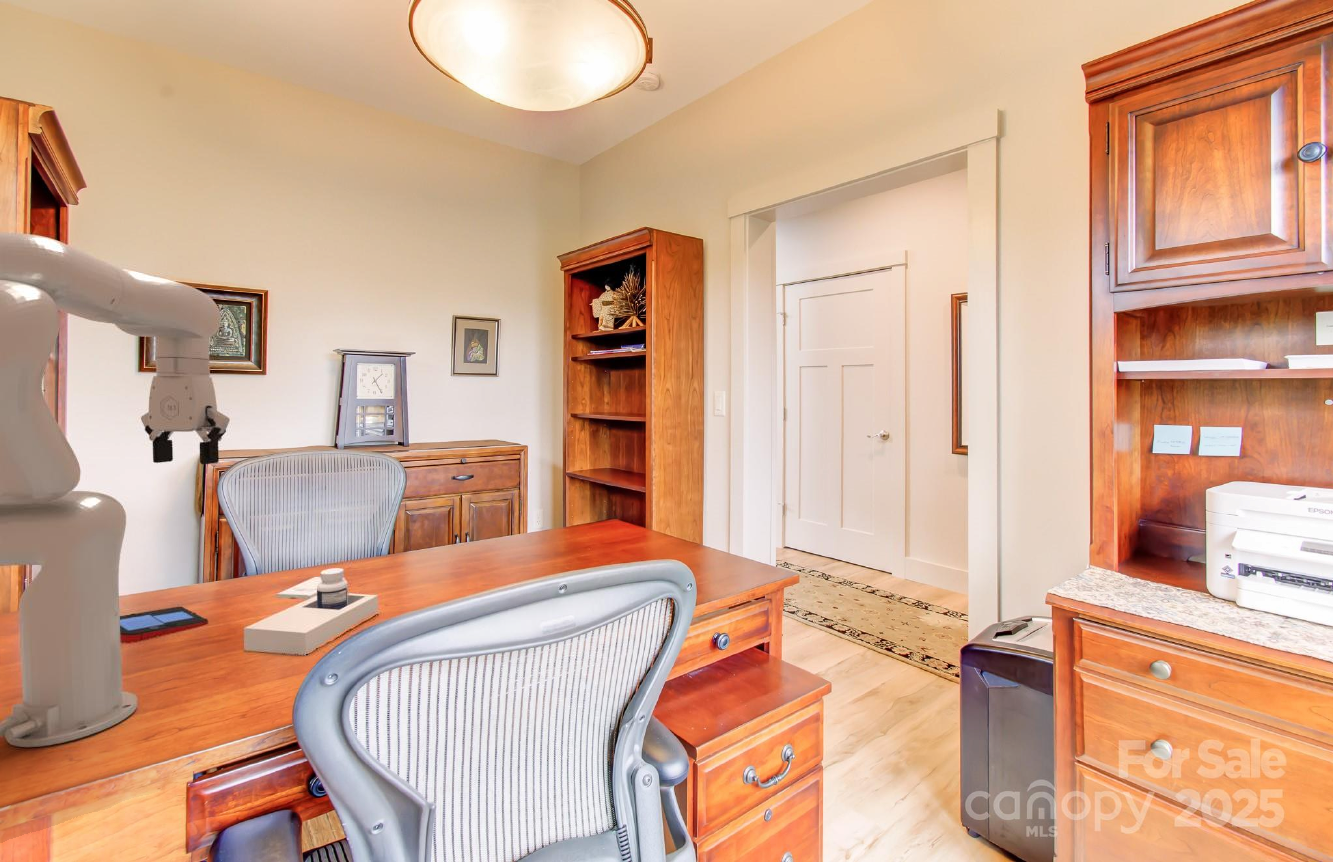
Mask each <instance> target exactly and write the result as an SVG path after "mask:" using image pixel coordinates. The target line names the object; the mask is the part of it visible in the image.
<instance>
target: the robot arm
mask: <svg viewBox="0 0 1333 862" xmlns="http://www.w3.org/2000/svg"><path fill="white" fill-rule="evenodd" d="M60 312H62V313H66V314H68V315H73V316H76V317H79V318H83V319H85V320H89V321H91V322H92V321H93V322H98V323H104V324H114V325H115V327H117V328H118V329H119V330H121V331H122V332H124V333H126V334H128V335H130V336H135V337H143V338H144V337H147V338H154V340H155V367H154V368H155V369H156V371H155V372H156V375H155V376H154V375H153V377H152V380H151V384H150V387H149V388H150V389H149V390H150V391H149V397H148V412H146V413H145V414H143V415H141V417H140V420H141V422H142V425H143V427H144V431H145V433H147V435H148V436H149V437H148V440H149V441H151V442H152V462H153V463H155V464H158V463H160V464H161V463H168V462H172V461H173V460H174V455H173V454H174V452H173V448H174V447H173V440H172V439H170V438H171V436H172V435H173V434H174V432H177V433H178V432H182V433H183V432H184V433H185V432H194V431H195V432H196V434H197V435H198V436H199V438H200V439H201V441H200V442H199V464H201V465H210V464H211V465H213V464H218V463H219V460H220V458H219V457H220V456H219V455H220V454H219V442H221V441H222V438H223V436H224V435H225V433H226V432H227V428H228V425H229V423H230V417H229V416H226V415H225V414H223V413H222V412H220V411H218V405H217V398H216V397H217V396H216V391H215V387H214V382H213V377H211V373H210V372H211V371H210V338H211V337H213V336H214V335H215V334H216V333H217V332H218V330H219V329H220V327H221V322H222V318H221V317H222V316H221V311H220V310H219V306H217V304H216V302H215V301H214V300H213V298H212V297H210V296H209V295H208V294H206V293H205V292H203V291H201V290H200V289H197V288H195V287H193V286H190V285H187V284H184V283H182V282H179V281H175V280H170V279H166V278H162V277H158V276H153V275H150V274H146V273H143V272H139V271H134V270H130V269H126V268H121V267H118V266H114V265H112V264H110V263H108V262H105V261H103V260H100V259H99V258H96V257H95V256H92V255H90V254H88V253H85V252H84V251H81V250H79V249H77V248H75V247H74V246H70V245H68V244H66V243H64V242H61V241H59V240H57V239H53V238H51V237H47V236H42V235H38V234H31V233H30V234H28V233H19V232H18V233H15V232H14V233H13V232H1V231H0V567H4V566H5V567H7V566H9V567H10V566H40V570H39V572H38V573H37V575H36V576H35V577H34V578H33V579H32V581H31V582H30V583H29V584H28V586H27V587H25V589H24V591H23V593H22V594H21V596H20V600H19V603H18V621H19V637H20V639H19V641H20V661H21V662H20V665H21V684H22V685H21V688H22V689H21V690H22V701H21V702H18V703H16V704H13V705H12V706H11V708H12V713H11V714H9V715H7V716H6V717H5V719H4V720H1V721H0V739H1V738H3V737H5V739H6V742H7V743H9V745H12V746H15V747H21V748H22V747H23V748H34V747H35V748H37V747H38V748H39V747H47V746H52V745H58V744H62V743H67V742H72V741H74V740H79V739H82V738H85V737H88V736H91V735H93V734H96V733H99V732H101V731H103V730H106V729H109V728H111V727H113V726H115V725H117V724H119V723H121V722H122V721H124V720H125V719H127V718H128V717H129V716H130V715H132V714H134V712H135V710H137V707H138V697H137V695H136V694H134V693H131V692H130V691H123V673H122V668H123V667H122V645H121V644H122V641H121V639H120V616H121V613H120V611H121V610H120V598H119V597H120V595H119V594H120V593H119V592H120V591H119V590H120V589H119V585H120V584H119V578H120V577H119V573H120V561H121V553H122V548H123V547H122V546H123V541H124V538H125V533H126V526H127V513H126V511H125V508H124V506H123V505H122V503H121V502H120V501H118V500H117V499H116V498H115V497H112V496H111V495H108V494H104V493H101V492H96V491H90V490H89V491H85V490H75V488H77V486H78V485H79V482H80V480H81V466H80V463H79V460H78V458H77V456H76V454H75V452H74V450H73V448H72V447H71V444H70V443H69V442H68V439H67V438H66V436H65V434H64V432H63V431H62V428H61V427H60V425H59V424H58V421H57V420H56V418H55V417H54V415H53V412H52V411H51V409H50V408H49V405H48V403H47V402H46V399H45V397H44V393H43V378H44V375H45V371H46V368H47V365H48V362H49V359H50V356H51V354H52V351H53V349H54V346H55V344H56V341H57V339H58V336H59V332H60V329H61V318H60V317H61V315H60Z"/></svg>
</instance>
